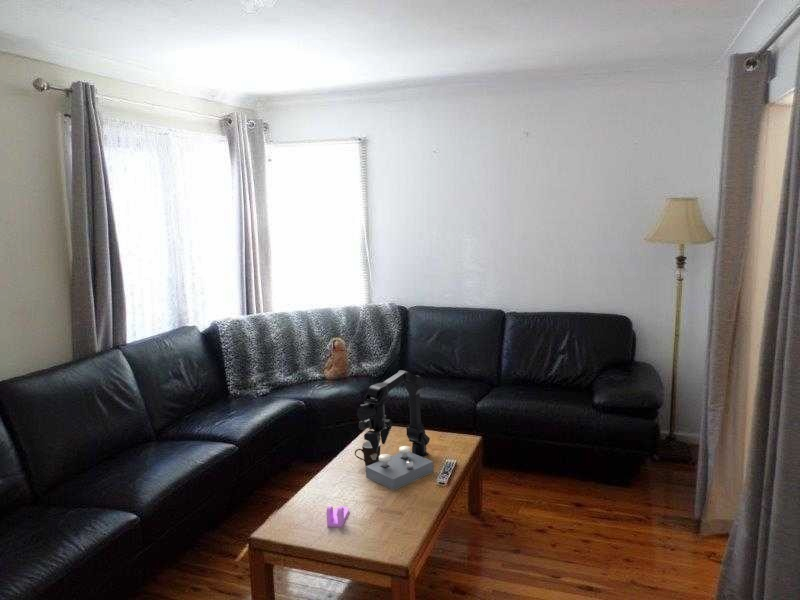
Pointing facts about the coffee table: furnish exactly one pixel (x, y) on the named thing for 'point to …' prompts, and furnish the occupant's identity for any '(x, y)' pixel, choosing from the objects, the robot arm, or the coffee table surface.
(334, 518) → the bracket
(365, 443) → the coffee mug
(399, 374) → the robot arm
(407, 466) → the potentiometer
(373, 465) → the console block
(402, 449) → the knob
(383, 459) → the knob
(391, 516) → the coffee table surface
